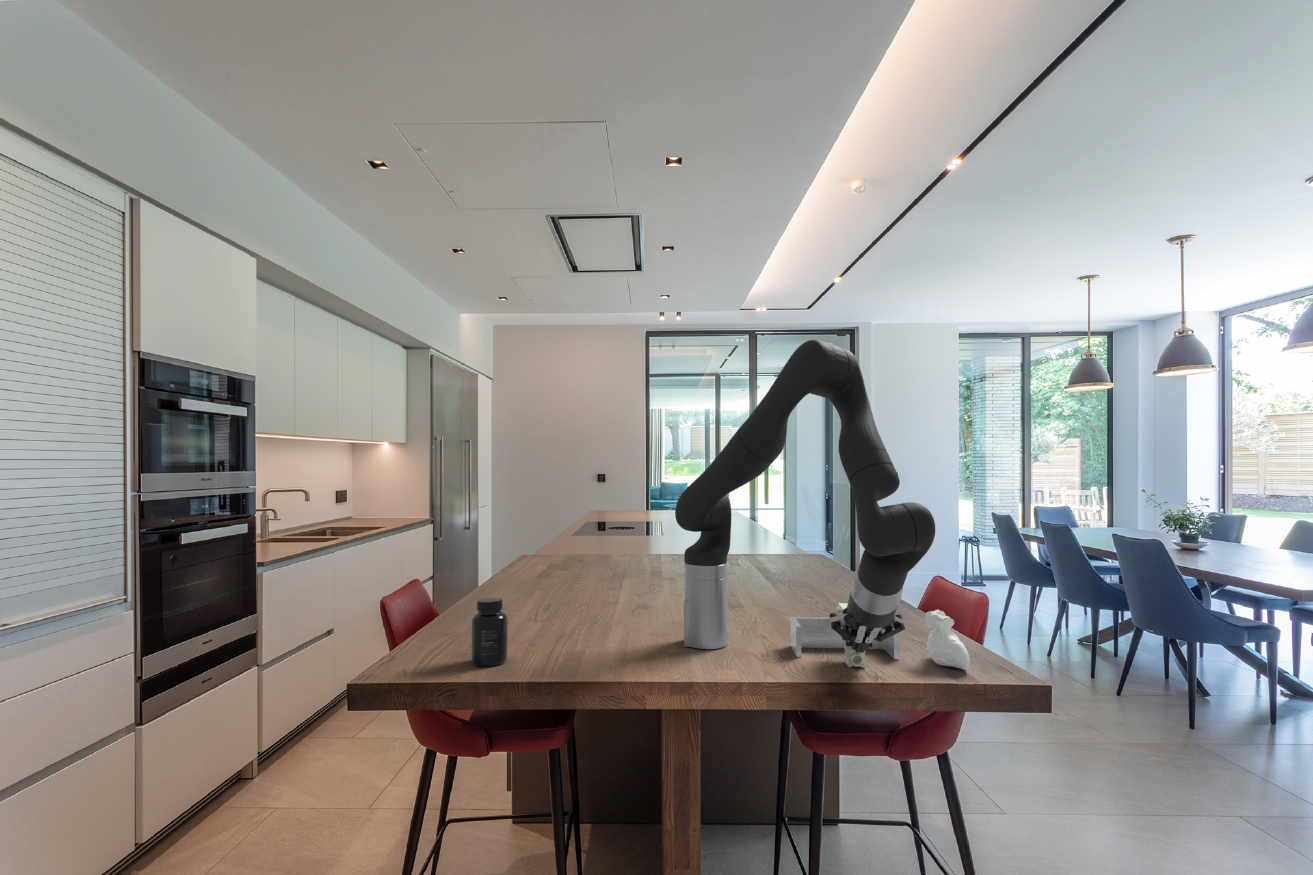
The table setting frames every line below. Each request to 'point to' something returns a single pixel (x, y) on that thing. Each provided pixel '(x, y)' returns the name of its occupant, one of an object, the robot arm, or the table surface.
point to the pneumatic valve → (850, 645)
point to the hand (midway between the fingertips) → (858, 647)
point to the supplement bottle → (489, 633)
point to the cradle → (830, 636)
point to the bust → (945, 642)
